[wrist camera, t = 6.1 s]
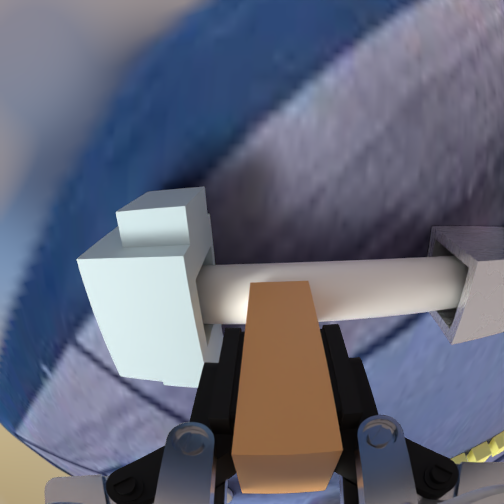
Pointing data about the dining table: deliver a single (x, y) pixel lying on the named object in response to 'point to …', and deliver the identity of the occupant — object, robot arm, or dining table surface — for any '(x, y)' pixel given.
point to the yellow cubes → (482, 450)
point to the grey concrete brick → (473, 280)
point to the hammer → (306, 351)
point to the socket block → (155, 287)
